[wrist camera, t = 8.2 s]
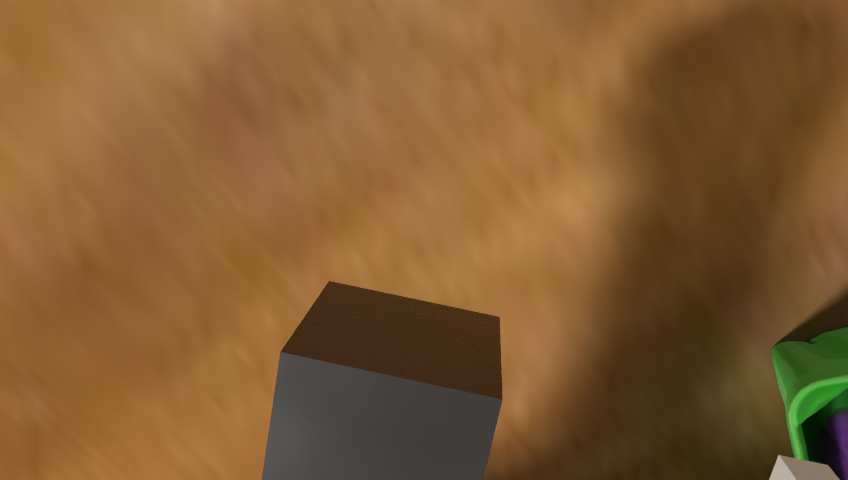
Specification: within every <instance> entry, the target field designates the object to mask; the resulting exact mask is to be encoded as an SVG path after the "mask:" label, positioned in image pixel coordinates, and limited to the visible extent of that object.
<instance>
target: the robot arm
mask: <svg viewBox="0 0 848 480" xmlns="http://www.w3.org/2000/svg"><path fill="white" fill-rule="evenodd" d="M769 480H840V479H839V478H838V477H837V476H836V474H835V473H834V472H833V471H832V469H831V468H830V467H829V466H828V465H825V464H820V463H815V462H811V461H806V460H801V459H796V458H791V457H786V456H782V455H778V458H777V460H776V463H775V466H774V468H773V471H772V473H771V476H770V479H769Z"/></svg>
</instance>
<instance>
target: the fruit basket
mask: <svg viewBox="0 0 848 480" xmlns="http://www.w3.org/2000/svg"><path fill="white" fill-rule="evenodd" d="M772 360H773V364H774V369H775V373H776V378H777V382H778V387H779V390H780V393H781V396H782V399H783V402H784V405H785V410H786V413H785V417H786V424H787V428H788V433H789V438H790V442H791V447H792V451H793V454H794V458H796V459H801V460H806V461H811V462H815V463H820V464H825V465H828V466H829V467H830V468H831V469H832V471H833V472H834V473H835V474H836V476H837V477H838V478H839V479H840V480H848V327H845V328H841V329H836V330H832V331H828V332H824V333H822V334H821V335H819V336H817V337H815V338H813V339H811V340H810V341H809V342H804V341H786V342H782V343H779V344H777V345H775V346H774V347H773V349H772Z"/></svg>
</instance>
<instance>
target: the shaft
mask: <svg viewBox="0 0 848 480" xmlns="http://www.w3.org/2000/svg"><path fill="white" fill-rule="evenodd" d="M501 403H502V374H501V346H500V317H497V316H492V315H488V314H483V313H478V312H473V311H469V310H464V309H459V308H454V307H450V306H445V305H440V304H435V303H431V302H426V301H421V300H416V299H412V298H407V297H402V296H397V295H393V294H388V293H383V292H378V291H374V290H369V289H364V288H359V287H355V286H350V285H345V284H340V283H335V282H331V281H329V282H328V284H327V285H326V287H325V288H324V289H323V291H322V292H321V294H320V295H319V297H318V298H317V300H316V301H315V303H314V304H313V305H312V307H311V308H310V310H309V311H308V313H307V314H306V316H305V317H304V319H303V320H302V321H301V323H300V324H299V326H298V327H297V329H296V330H295V332H294V333H293V335H292V336H291V337H290V339H289V340H288V342H287V343H286V345H285V346H284V348H283V349H282V351H281V352H280V359H279V366H278V373H277V380H276V386H275V393H274V400H273V407H272V414H271V421H270V428H269V434H268V441H267V448H266V455H265V462H264V469H263V475H262V480H483V477H484V473H485V469H486V465H487V461H488V456H489V452H490V448H491V444H492V440H493V436H494V432H495V428H496V424H497V419H498V415H499V411H500V407H501Z"/></svg>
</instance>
